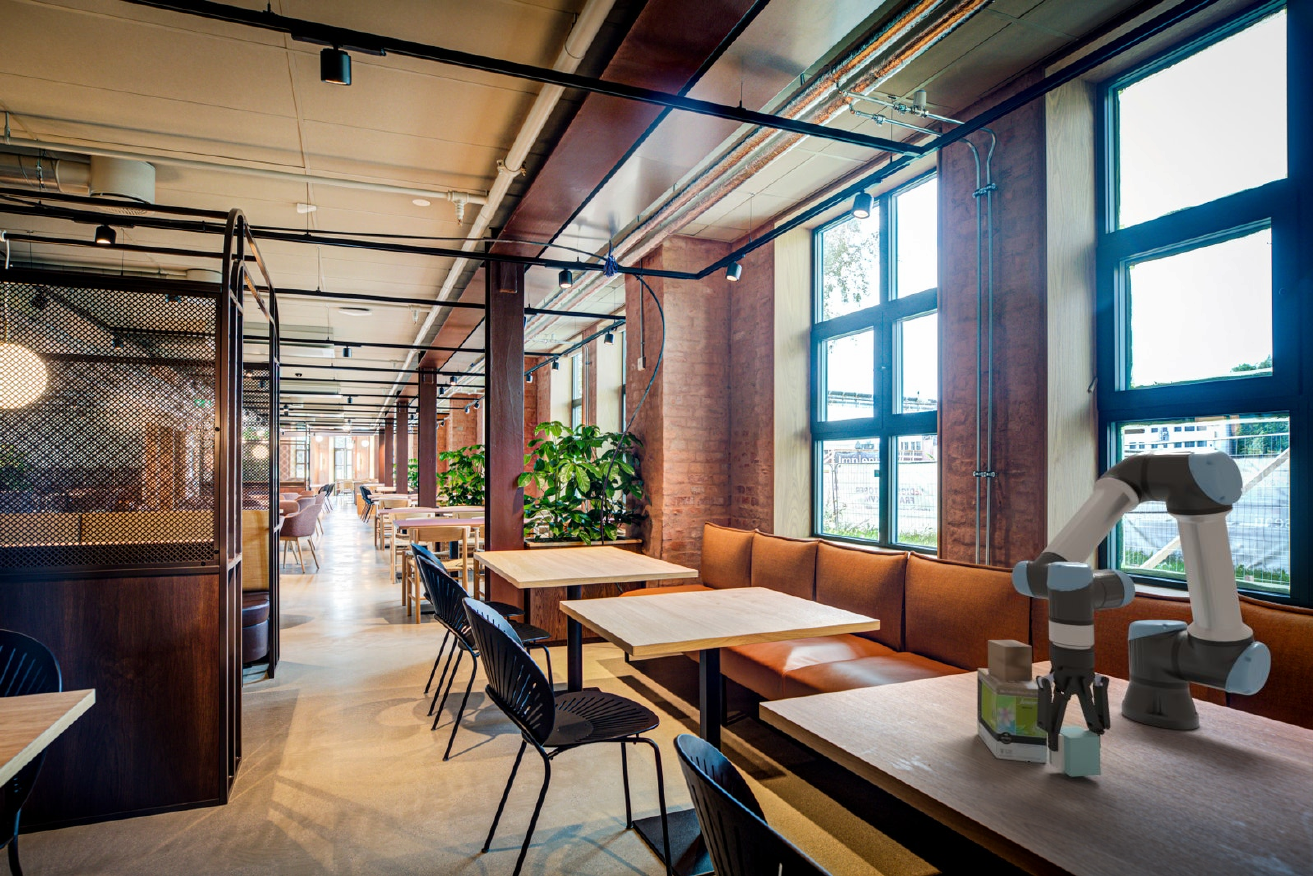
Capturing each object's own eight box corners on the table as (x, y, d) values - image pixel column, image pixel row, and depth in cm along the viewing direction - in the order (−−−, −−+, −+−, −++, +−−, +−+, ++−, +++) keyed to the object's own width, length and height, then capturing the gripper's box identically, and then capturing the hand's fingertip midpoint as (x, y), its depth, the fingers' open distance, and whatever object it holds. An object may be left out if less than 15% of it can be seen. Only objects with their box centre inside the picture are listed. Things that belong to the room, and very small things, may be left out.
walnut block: (1014, 672, 153) (1013, 639, 154) (1032, 680, 148) (1031, 646, 148) (988, 673, 153) (987, 640, 153) (1005, 681, 147) (1005, 646, 147)
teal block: (1078, 762, 138) (1077, 725, 139) (1100, 775, 132) (1099, 736, 133) (1049, 763, 138) (1048, 726, 138) (1070, 776, 132) (1069, 738, 132)
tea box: (1049, 764, 141) (1048, 688, 142) (995, 760, 143) (994, 685, 144) (1024, 737, 156) (1023, 669, 157) (976, 733, 158) (975, 666, 158)
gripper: (1103, 638, 141) (1106, 757, 140) (1013, 640, 139) (1015, 761, 138) (1132, 647, 133) (1136, 773, 132) (1037, 650, 131) (1040, 778, 130)
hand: (1074, 767), depth 135 cm, fingers closed on teal block, 6 cm apart
